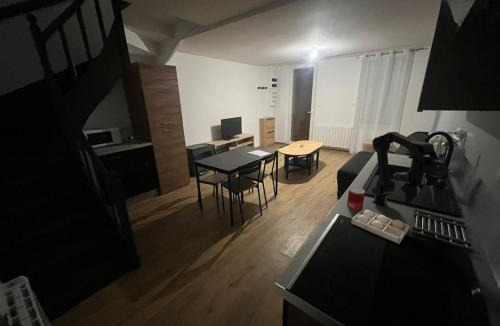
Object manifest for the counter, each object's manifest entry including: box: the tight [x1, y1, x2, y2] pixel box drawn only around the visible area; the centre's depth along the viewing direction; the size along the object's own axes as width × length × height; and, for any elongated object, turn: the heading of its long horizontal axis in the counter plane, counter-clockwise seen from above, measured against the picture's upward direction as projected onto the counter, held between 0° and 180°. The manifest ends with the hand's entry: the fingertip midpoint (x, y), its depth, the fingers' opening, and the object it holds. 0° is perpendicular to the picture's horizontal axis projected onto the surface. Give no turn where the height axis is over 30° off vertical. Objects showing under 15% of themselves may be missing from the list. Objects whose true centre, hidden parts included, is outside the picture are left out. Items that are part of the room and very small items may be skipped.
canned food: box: [346, 186, 366, 211], centre depth 115 cm, size 8×8×11 cm
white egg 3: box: [371, 220, 383, 230], centre depth 96 cm, size 5×5×5 cm
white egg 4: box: [377, 214, 388, 224], centre depth 100 cm, size 5×5×5 cm
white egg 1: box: [357, 215, 368, 224], centre depth 101 cm, size 5×5×5 cm
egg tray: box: [351, 208, 410, 245], centre depth 99 cm, size 14×20×3 cm
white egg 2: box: [363, 209, 374, 218], centre depth 105 cm, size 5×5×5 cm
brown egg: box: [392, 219, 404, 230], centre depth 96 cm, size 5×5×5 cm
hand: (410, 199), depth 100 cm, fingers open, 9 cm apart
